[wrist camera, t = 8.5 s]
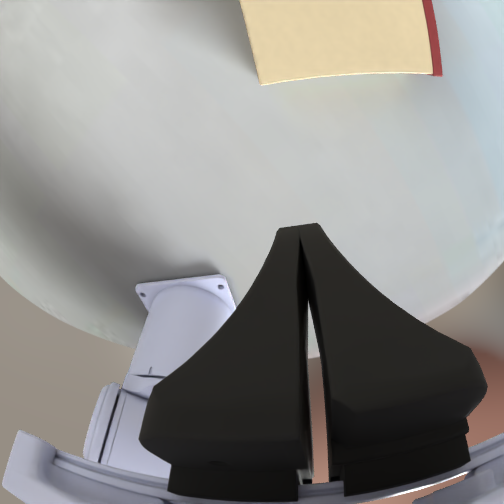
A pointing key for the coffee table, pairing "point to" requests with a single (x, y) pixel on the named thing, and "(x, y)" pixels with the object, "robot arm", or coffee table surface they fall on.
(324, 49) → the book
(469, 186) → the coffee table surface
